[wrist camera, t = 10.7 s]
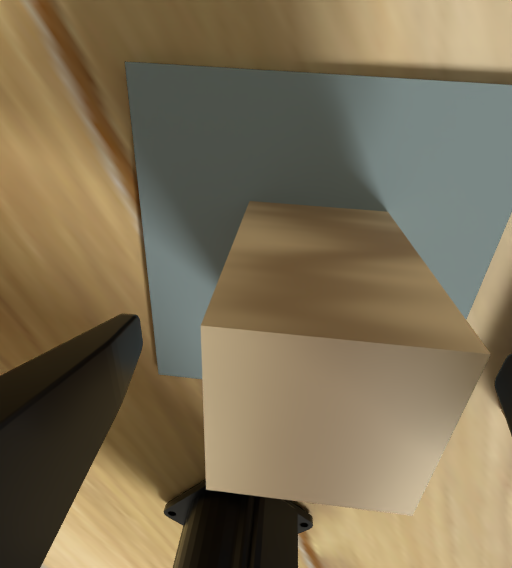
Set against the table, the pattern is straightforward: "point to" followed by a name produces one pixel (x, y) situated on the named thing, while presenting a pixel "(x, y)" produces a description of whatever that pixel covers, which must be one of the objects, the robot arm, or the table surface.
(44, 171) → the table surface
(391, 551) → the table surface
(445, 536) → the table surface
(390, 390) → the oak block
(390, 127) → the mat
